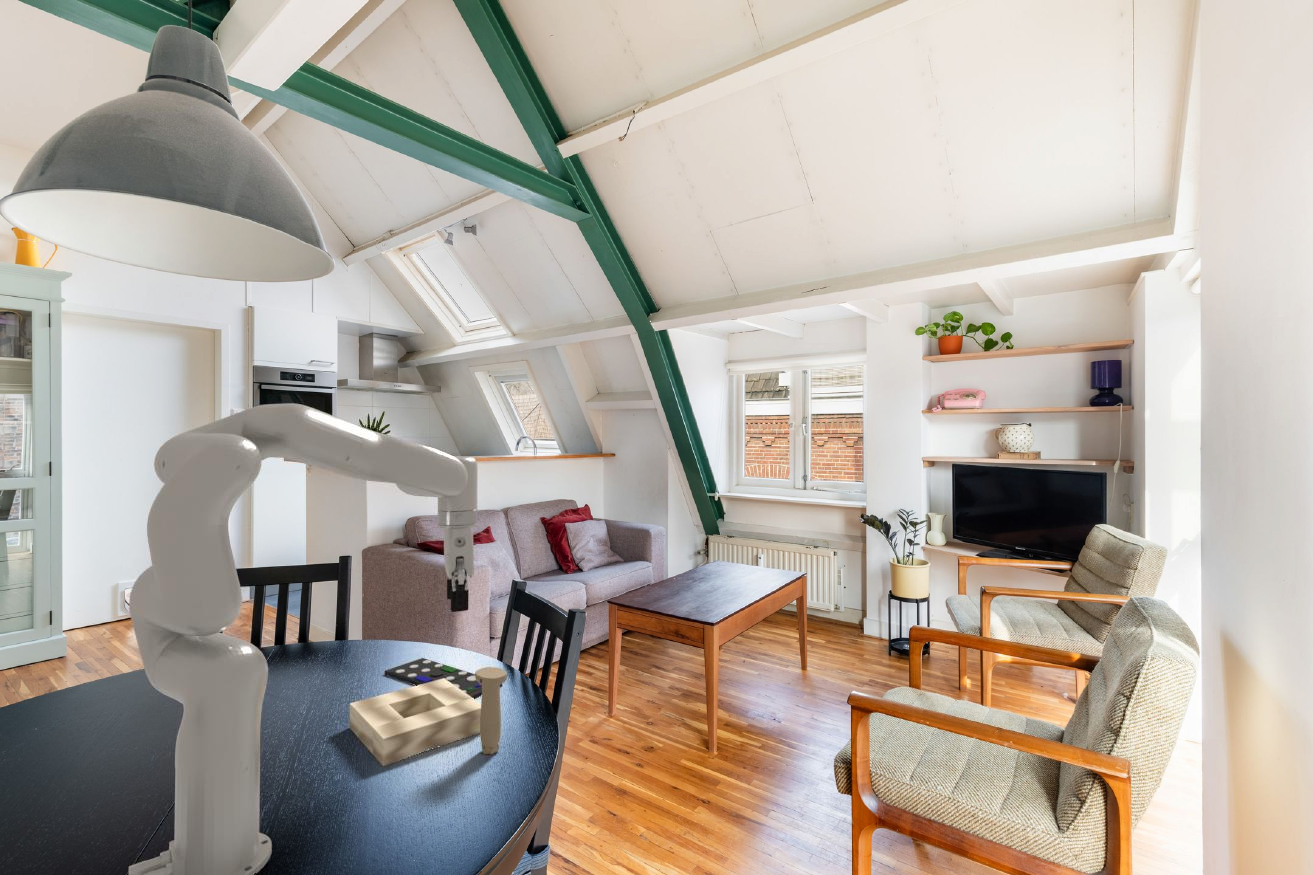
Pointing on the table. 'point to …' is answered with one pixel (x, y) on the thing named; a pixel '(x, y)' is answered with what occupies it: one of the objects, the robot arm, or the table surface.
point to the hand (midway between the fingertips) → (457, 604)
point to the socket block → (414, 720)
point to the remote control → (436, 675)
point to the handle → (490, 707)
